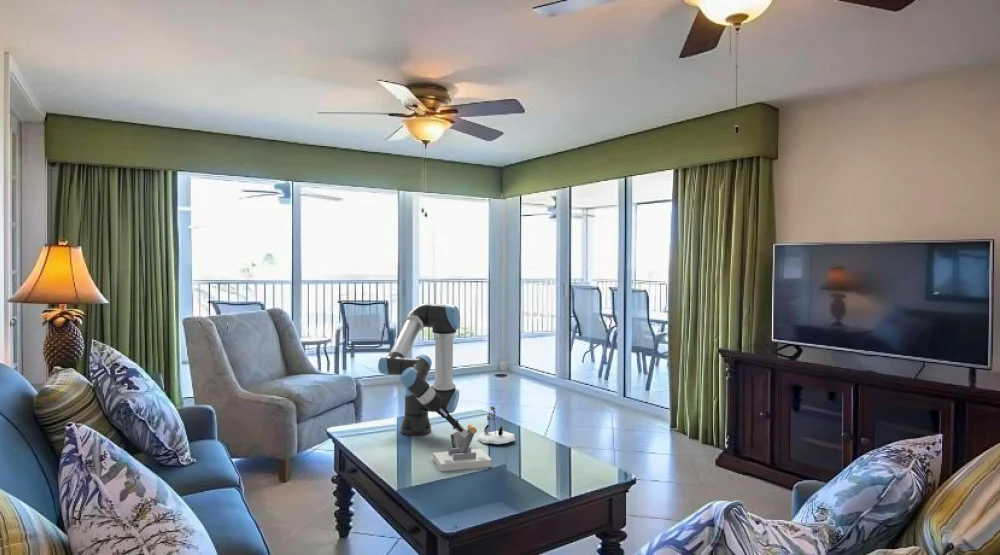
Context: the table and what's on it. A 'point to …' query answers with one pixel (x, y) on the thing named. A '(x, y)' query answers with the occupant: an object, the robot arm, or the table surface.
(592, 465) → the table surface
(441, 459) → the switch block
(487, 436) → the figurine
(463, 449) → the handle
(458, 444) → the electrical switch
